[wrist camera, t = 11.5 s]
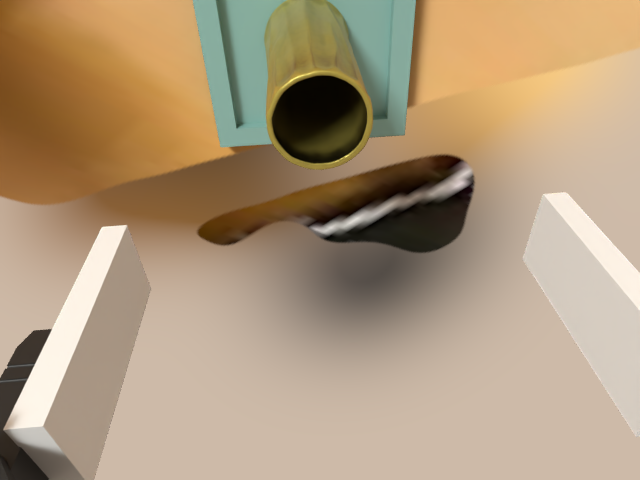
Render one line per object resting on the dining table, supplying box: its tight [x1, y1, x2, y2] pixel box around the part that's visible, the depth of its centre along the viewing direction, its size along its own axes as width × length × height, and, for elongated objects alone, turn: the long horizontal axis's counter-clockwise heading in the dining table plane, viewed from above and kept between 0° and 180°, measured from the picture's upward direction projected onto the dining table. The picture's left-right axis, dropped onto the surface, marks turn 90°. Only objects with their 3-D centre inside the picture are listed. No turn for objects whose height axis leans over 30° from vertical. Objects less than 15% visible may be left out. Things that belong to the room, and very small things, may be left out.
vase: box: [264, 0, 373, 170], centre depth 28 cm, size 6×6×14 cm
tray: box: [193, 0, 416, 147], centre depth 33 cm, size 15×15×2 cm
